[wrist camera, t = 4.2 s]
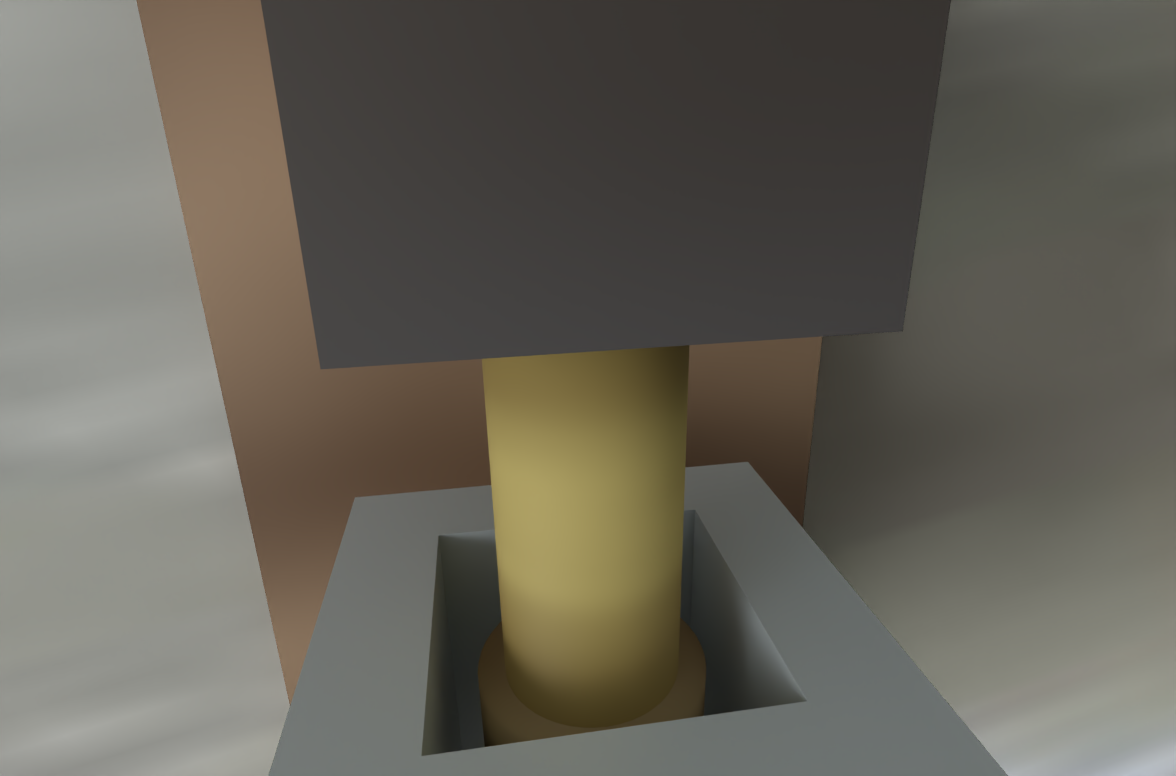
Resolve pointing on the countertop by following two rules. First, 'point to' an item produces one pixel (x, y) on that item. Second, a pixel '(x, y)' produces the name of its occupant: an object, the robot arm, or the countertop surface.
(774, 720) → the white cube with hole
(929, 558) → the countertop surface
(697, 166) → the cord clamp board
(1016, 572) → the countertop surface
